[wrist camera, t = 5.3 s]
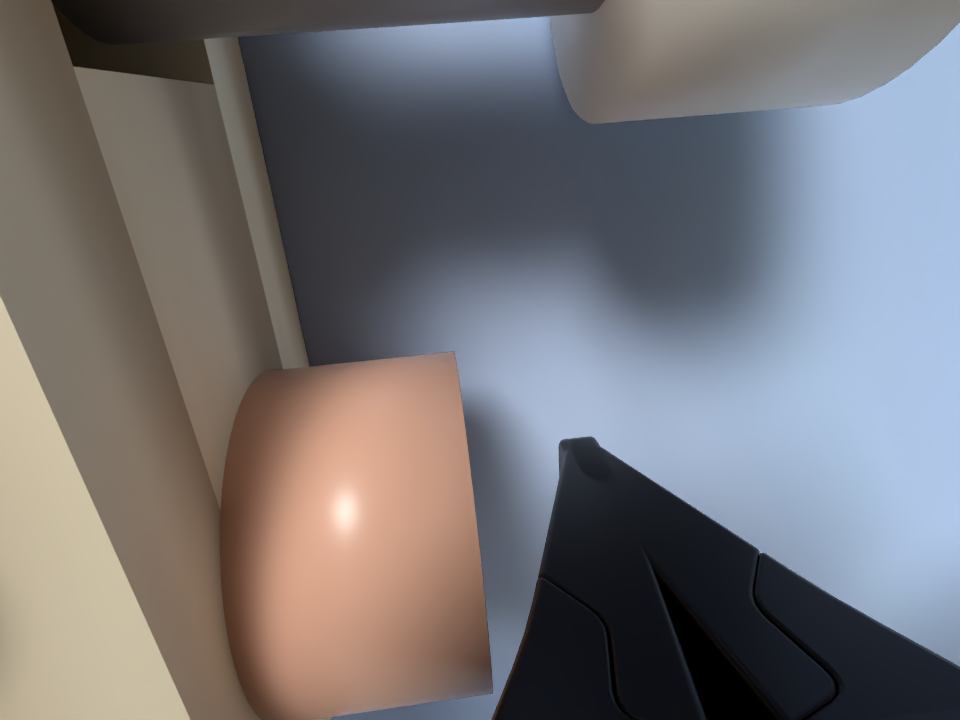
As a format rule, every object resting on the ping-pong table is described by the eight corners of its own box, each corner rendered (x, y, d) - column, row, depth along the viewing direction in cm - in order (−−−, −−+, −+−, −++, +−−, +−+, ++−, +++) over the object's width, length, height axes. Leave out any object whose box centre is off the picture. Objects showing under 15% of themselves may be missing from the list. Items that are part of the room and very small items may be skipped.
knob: (447, 308, 9) (474, 473, 5) (468, 526, 11) (501, 777, 7) (-23, 355, 8) (-433, 582, 4) (84, 575, 10) (-131, 877, 6)
